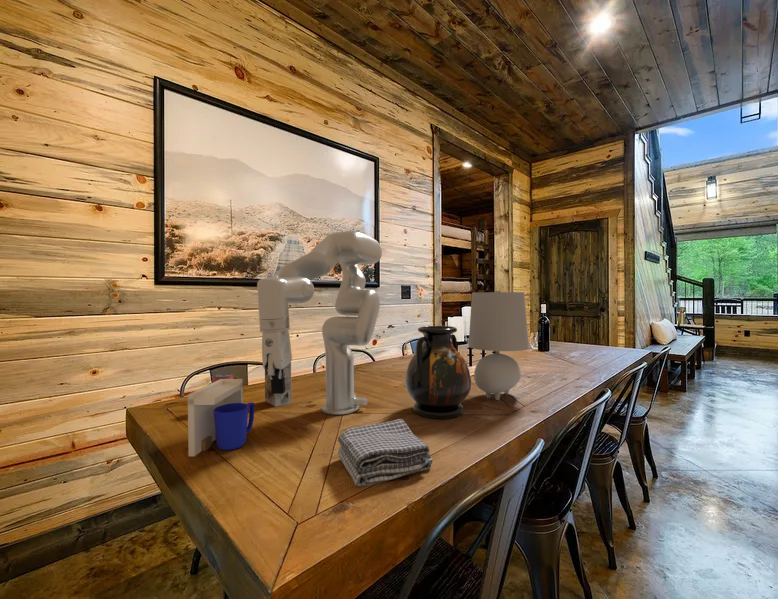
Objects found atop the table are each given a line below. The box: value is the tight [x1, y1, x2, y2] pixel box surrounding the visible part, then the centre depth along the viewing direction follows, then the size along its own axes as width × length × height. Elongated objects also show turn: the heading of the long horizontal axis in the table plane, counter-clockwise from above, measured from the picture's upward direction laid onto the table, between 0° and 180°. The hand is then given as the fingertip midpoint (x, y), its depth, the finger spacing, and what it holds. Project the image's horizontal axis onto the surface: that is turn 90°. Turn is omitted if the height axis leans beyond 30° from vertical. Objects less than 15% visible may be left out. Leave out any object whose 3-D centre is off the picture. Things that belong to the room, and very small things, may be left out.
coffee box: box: [264, 361, 292, 408], centre depth 127 cm, size 9×6×16 cm
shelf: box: [187, 378, 244, 457], centre depth 92 cm, size 6×16×15 cm, turn 179°
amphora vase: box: [404, 325, 472, 420], centre depth 116 cm, size 22×22×28 cm
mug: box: [214, 402, 255, 451], centre depth 92 cm, size 8×12×10 cm
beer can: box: [212, 372, 235, 383], centre depth 120 cm, size 7×7×12 cm
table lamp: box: [468, 290, 530, 401], centre depth 131 cm, size 23×22×40 cm
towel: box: [337, 418, 433, 487], centre depth 79 cm, size 15×18×8 cm
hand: (278, 392), depth 93 cm, fingers closed
